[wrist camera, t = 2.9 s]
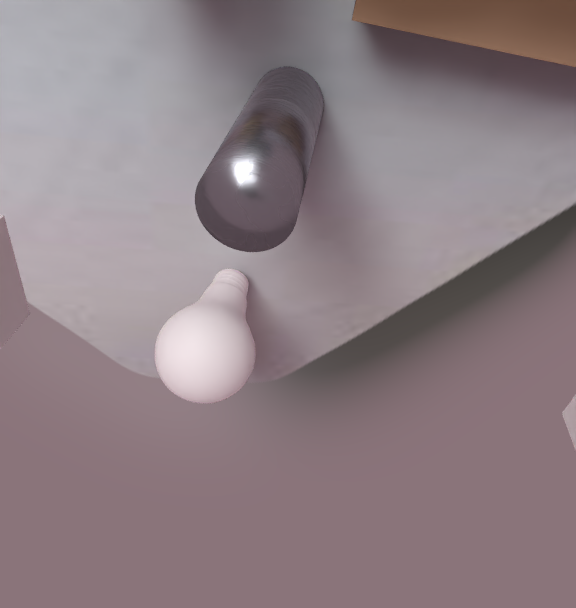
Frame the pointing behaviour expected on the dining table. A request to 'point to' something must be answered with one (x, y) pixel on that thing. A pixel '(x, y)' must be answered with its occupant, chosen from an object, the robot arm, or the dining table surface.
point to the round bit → (263, 164)
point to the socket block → (484, 24)
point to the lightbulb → (208, 343)
